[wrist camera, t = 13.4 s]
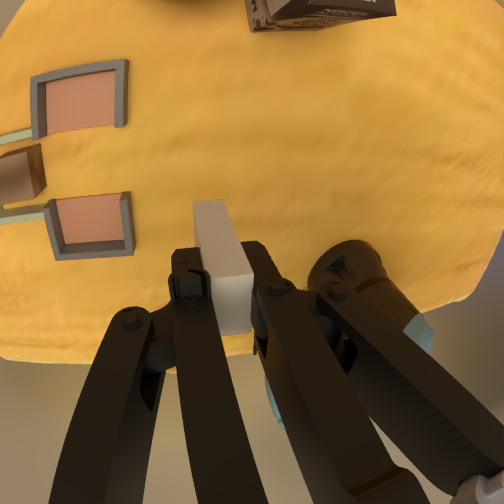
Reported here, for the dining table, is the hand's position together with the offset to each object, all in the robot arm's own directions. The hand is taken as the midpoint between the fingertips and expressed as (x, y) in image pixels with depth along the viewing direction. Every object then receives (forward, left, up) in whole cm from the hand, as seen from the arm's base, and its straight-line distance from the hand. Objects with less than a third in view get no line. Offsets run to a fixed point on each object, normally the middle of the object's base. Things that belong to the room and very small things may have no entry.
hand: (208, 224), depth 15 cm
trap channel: (-2, +18, -23) cm, 29 cm away
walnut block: (-1, +23, -23) cm, 32 cm away
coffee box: (+19, -11, -23) cm, 31 cm away
